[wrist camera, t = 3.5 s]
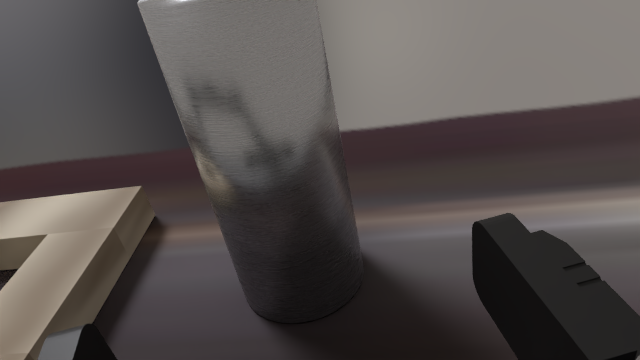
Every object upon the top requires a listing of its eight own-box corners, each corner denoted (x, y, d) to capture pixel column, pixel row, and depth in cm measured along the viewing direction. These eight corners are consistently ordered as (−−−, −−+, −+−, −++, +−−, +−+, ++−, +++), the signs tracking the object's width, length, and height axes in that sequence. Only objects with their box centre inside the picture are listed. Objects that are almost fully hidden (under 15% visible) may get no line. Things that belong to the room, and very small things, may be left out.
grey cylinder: (378, 302, 19) (324, -26, 12) (247, 338, 18) (123, 20, 12) (347, 221, 23) (296, -47, 17) (241, 248, 23) (150, -14, 17)
